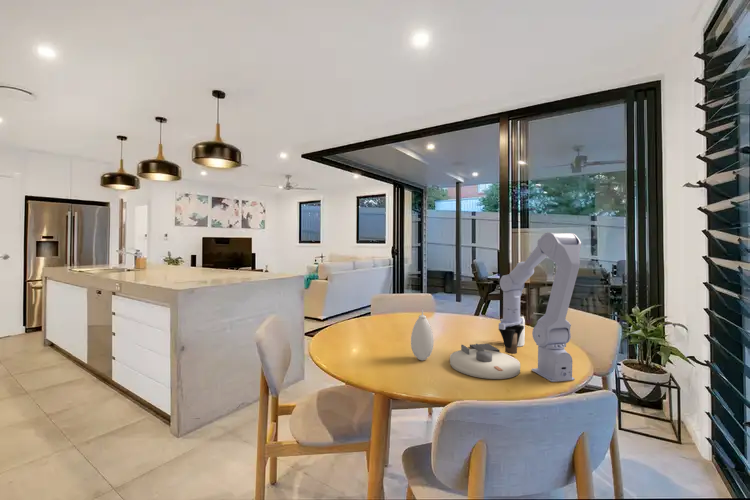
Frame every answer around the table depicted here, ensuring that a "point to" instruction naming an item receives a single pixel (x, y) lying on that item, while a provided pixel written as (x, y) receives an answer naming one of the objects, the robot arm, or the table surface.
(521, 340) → the can
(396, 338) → the table surface
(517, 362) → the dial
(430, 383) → the table surface
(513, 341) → the pin
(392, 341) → the table surface
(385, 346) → the table surface
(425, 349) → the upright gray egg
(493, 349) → the mat
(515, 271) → the robot arm
